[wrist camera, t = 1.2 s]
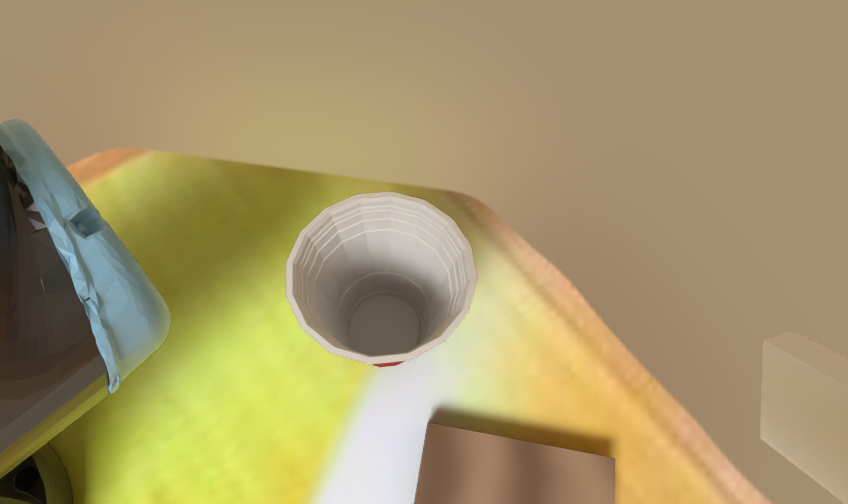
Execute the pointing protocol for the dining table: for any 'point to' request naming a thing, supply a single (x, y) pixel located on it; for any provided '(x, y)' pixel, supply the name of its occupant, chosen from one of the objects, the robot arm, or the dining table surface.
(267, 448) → the dining table surface
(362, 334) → the plastic cup
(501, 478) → the walnut coaster board
